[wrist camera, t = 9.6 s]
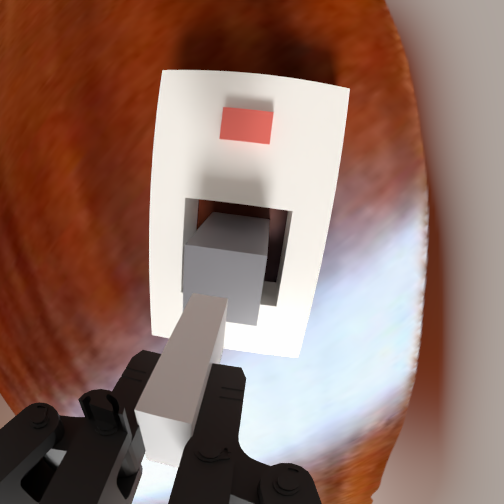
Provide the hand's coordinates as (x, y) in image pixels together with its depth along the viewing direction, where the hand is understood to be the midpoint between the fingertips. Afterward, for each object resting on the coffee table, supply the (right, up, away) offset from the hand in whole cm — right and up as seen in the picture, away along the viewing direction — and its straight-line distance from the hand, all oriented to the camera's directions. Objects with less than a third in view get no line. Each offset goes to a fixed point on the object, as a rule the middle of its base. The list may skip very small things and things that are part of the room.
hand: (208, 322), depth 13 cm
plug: (+1, +4, +12) cm, 12 cm away
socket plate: (+1, +6, +11) cm, 12 cm away
